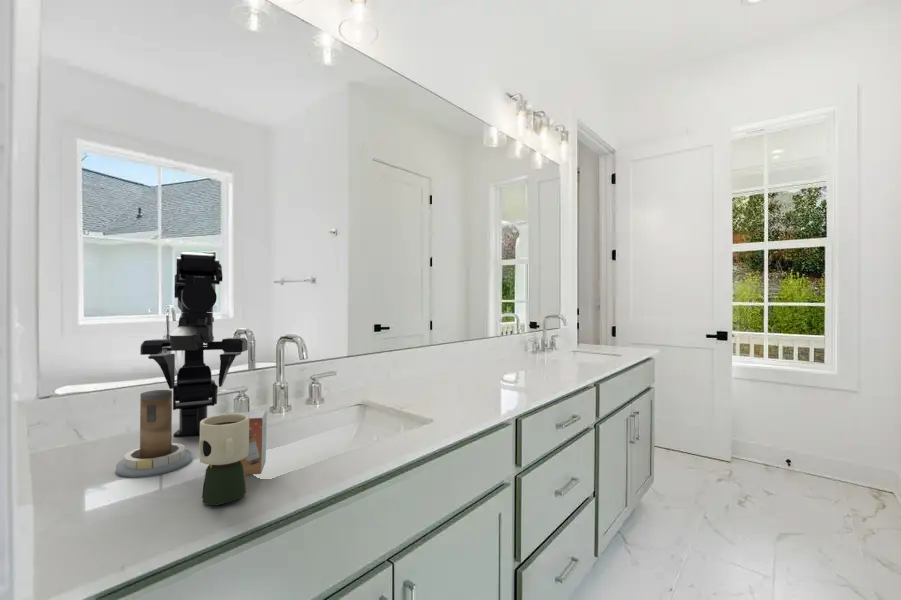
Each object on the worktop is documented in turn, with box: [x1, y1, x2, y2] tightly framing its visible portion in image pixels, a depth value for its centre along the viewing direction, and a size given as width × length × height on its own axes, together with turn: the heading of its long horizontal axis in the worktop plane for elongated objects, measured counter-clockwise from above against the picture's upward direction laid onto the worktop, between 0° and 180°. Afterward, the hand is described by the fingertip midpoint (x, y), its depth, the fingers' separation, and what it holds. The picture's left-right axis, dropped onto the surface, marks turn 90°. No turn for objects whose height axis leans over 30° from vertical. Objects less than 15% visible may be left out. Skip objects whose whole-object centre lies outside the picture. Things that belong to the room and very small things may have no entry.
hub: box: [115, 442, 193, 478], centre depth 83 cm, size 12×12×2 cm
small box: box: [220, 409, 268, 476], centre depth 81 cm, size 8×6×10 cm
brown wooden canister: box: [139, 389, 173, 459], centre depth 83 cm, size 6×5×13 cm
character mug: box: [198, 413, 249, 506], centre depth 70 cm, size 11×7×13 cm, turn 35°
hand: (196, 387), depth 90 cm, fingers open, 9 cm apart
